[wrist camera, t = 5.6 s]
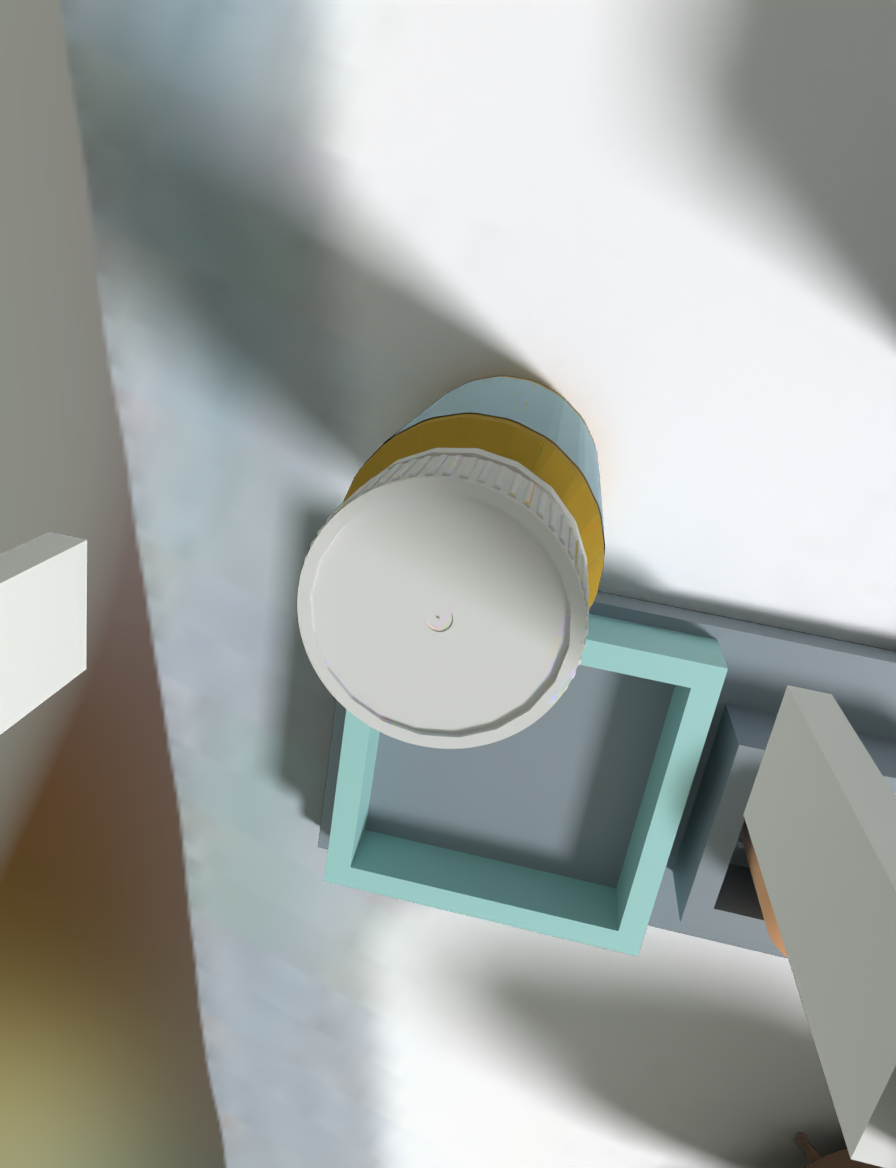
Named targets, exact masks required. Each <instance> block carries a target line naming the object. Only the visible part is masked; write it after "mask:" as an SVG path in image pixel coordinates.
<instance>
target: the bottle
mask: <svg viewBox="0 0 896 1168" xmlns="http://www.w3.org/2000/svg"><path fill="white" fill-rule="evenodd" d="M317 535H318V536H317V537H316V538H315V539H314V540H313V541H312V542H311V544H310V550H309V552H308V554H307V555H306V556H305V558H304V565H303V568H302V570H301V573H300V580H299V585H298V595H297V613H298V622H299V628H300V633H301V637H302V641H303V644H304V647H305V650H306V653H307V655H308V657H309V660H310V662H311V664H312V666H313V668H314V670H315V671H316V673H317V675H318V676H319V678H320V679H321V681H322V682H323V684H324V685H325V687H326V688H327V689H328V690H329V692H330V693H331V694H332V695H333V696H334V697H335V698H336V700H337V701H338V702H339V703H340V704H341V705H342V706H344V707H345V708H346V709H347V710H348V711H349V712H350V713H352V714H353V715H354V716H355V717H357V718H358V719H360V720H361V721H362V722H364V723H365V724H367V725H369V726H370V727H372V728H374V729H376V730H377V731H379V732H381V733H383V734H386V735H388V736H390V737H393V738H395V739H398V740H401V741H404V742H407V743H411V744H415V745H419V746H424V747H431V748H441V749H461V748H471V747H477V746H482V745H487V744H490V743H494V742H497V741H500V740H503V739H505V738H508V737H510V736H512V735H514V734H516V733H518V732H520V731H522V730H524V729H525V728H527V727H528V726H530V725H531V724H533V723H534V722H536V721H537V720H538V719H539V718H541V717H542V716H543V715H544V714H545V713H546V712H547V711H548V710H549V709H550V708H551V707H552V706H553V705H554V704H555V703H556V702H557V701H558V699H559V698H560V697H561V696H562V694H563V693H564V691H566V689H567V688H568V685H569V683H570V681H571V680H572V679H573V678H574V676H575V674H576V669H577V666H579V665H580V663H581V660H582V652H583V651H584V650H585V647H586V636H587V635H588V620H589V609H590V607H591V605H592V604H593V602H594V599H595V597H596V595H597V592H598V587H599V583H600V578H601V574H602V569H603V565H604V554H605V540H604V526H603V513H602V500H601V487H600V474H599V465H598V456H597V450H596V447H595V444H594V441H593V438H592V436H591V434H590V432H589V430H588V428H587V426H586V423H585V421H584V420H583V418H582V417H581V415H580V414H579V413H578V412H577V411H576V410H575V409H574V408H573V407H572V406H571V405H570V404H569V402H568V401H567V400H566V399H565V398H564V397H562V396H561V395H560V394H558V393H557V392H555V391H553V390H551V389H549V388H547V387H545V386H544V385H542V384H540V383H538V382H535V381H532V380H529V379H523V378H517V377H511V376H495V377H489V378H483V379H477V380H474V381H471V382H468V383H466V384H464V385H462V386H460V387H458V388H456V389H454V390H452V391H450V392H448V393H446V394H445V395H444V396H442V397H441V398H440V399H438V400H437V401H436V402H435V403H433V404H432V405H431V406H430V407H428V408H427V409H426V410H425V411H423V412H422V413H421V414H420V415H418V416H417V417H416V418H415V419H413V420H412V421H411V422H409V423H408V424H407V425H406V426H404V427H403V428H402V429H401V430H399V431H398V432H397V433H396V434H394V435H393V436H392V437H391V438H389V439H388V440H387V441H386V442H385V443H384V444H383V445H382V446H381V447H380V448H379V449H378V450H377V451H376V452H375V453H374V454H373V455H372V456H371V457H370V458H369V460H368V461H367V462H366V463H365V464H364V465H363V466H362V467H361V469H360V470H359V471H358V473H357V474H356V476H355V477H354V480H353V482H352V484H351V486H350V488H349V490H348V493H347V495H346V497H345V499H344V501H343V504H342V505H340V506H339V507H338V508H337V510H336V511H335V512H334V513H333V514H331V515H330V516H329V517H328V519H327V520H326V523H325V524H324V525H323V526H322V527H321V528H320V529H319V530H318V532H317Z"/></svg>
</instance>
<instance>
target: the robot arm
mask: <svg viewBox="0 0 896 1168" xmlns="http://www.w3.org/2000/svg"><path fill="white" fill-rule="evenodd" d="M86 609H87V540H84V539H80V538H75V537H70V536H66V535H60V534H56V533H51V532H48V533H46V534H44V535H42V536H40V537H37V538H35V539H33V540H31V541H28V542H26V543H24V544H22V545H20V546H17V547H15V548H13V549H11V550H9V551H6V552H4V553H2V554H0V734H2V733H3V732H4V731H6V730H7V729H8V728H10V727H11V726H12V725H14V724H15V723H16V722H18V721H19V720H20V719H21V718H23V717H24V716H25V715H27V714H28V713H29V712H31V711H32V710H33V709H35V708H36V707H37V706H38V705H40V704H41V703H42V702H44V701H45V700H46V699H48V698H49V697H50V696H52V695H53V694H54V693H55V692H57V691H58V690H59V689H61V688H62V687H63V686H65V685H66V684H67V683H69V682H70V681H71V680H72V679H74V678H75V677H76V676H78V675H79V674H80V673H82V672H83V671H84V670H86V621H87V619H86V617H87V616H86V615H87V614H86V613H87V611H86ZM743 815H744V818H745V821H746V825H747V828H748V831H749V834H750V837H751V841H752V844H753V847H754V850H755V854H756V857H757V860H758V863H759V866H760V870H761V873H762V876H763V879H764V882H765V886H766V889H767V892H768V895H769V898H770V902H771V905H772V908H773V911H774V915H775V918H776V921H777V924H778V927H779V931H780V934H781V937H782V940H783V943H784V947H785V950H786V953H787V956H788V959H789V963H790V966H791V969H792V972H793V976H794V979H795V982H796V985H797V988H798V992H799V995H800V998H801V1001H802V1004H803V1008H804V1011H805V1014H806V1017H807V1020H808V1024H809V1027H810V1030H811V1033H812V1037H813V1040H814V1043H815V1046H816V1049H817V1053H818V1056H819V1059H820V1062H821V1065H822V1069H823V1072H824V1075H825V1078H826V1081H827V1085H828V1088H829V1091H830V1094H831V1098H832V1101H833V1104H834V1107H835V1110H836V1114H837V1117H838V1120H839V1123H840V1126H841V1130H842V1133H843V1136H844V1139H845V1142H846V1146H847V1149H848V1152H849V1155H850V1159H852V1160H856V1161H860V1162H864V1163H868V1164H872V1165H876V1166H880V1167H883V1168H896V796H895V795H894V793H893V791H892V790H891V788H890V787H889V785H888V783H887V782H886V780H885V779H884V777H883V775H882V774H881V772H880V771H879V769H878V767H877V766H876V764H875V763H874V761H873V759H872V758H871V756H870V755H869V753H868V751H867V750H866V748H865V747H864V745H863V743H862V742H861V740H860V739H859V737H858V735H857V734H856V732H855V731H854V729H853V727H852V726H851V724H850V723H849V721H848V719H847V718H846V716H845V715H844V713H843V711H842V710H841V708H840V707H839V705H838V703H837V702H836V700H835V699H834V697H833V695H832V694H828V693H824V692H819V691H814V690H809V689H804V688H799V687H795V686H790V685H787V688H786V691H785V694H784V697H783V700H782V703H781V706H780V709H779V712H778V714H777V717H776V720H775V723H774V726H773V729H772V732H771V735H770V738H769V741H768V744H767V747H766V750H765V753H764V756H763V758H762V761H761V764H760V767H759V770H758V773H757V776H756V779H755V782H754V785H753V788H752V791H751V794H750V797H749V800H748V802H747V805H746V808H745V811H744V814H743Z"/></svg>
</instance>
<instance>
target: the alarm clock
mask: <svg viewBox="0 0 896 1168" xmlns="http://www.w3.org/2000/svg"><path fill="white" fill-rule="evenodd" d="M794 1140H795V1143H796V1144H797V1145H798V1146H800V1147H802V1148H803V1150H804V1152H805V1153H806V1155H807V1157H808V1159H809V1161H810V1163H811V1164H810V1165H808V1166H807V1167H806V1168H883V1167H880V1166H876V1165H872V1164H868V1163H864V1162H860V1161H856V1160H852V1159H850V1155H849V1152H848V1149H844V1150H840V1151H837V1152H834V1153H831V1154H828V1155H826V1156H824V1157H822V1156H821V1155H820V1154H819V1153H818V1152H817V1151H816V1150H815V1149H814V1148H813V1147H812V1146H811V1145H810V1144H809V1139H808V1137H807V1135H806V1134H805V1133H803V1132H798V1133H797V1134H796V1135H795V1137H794Z"/></svg>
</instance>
